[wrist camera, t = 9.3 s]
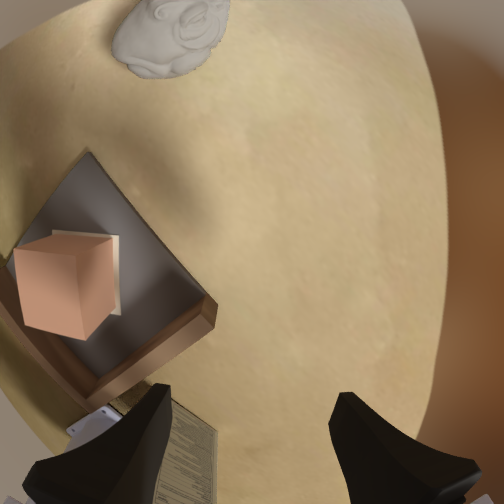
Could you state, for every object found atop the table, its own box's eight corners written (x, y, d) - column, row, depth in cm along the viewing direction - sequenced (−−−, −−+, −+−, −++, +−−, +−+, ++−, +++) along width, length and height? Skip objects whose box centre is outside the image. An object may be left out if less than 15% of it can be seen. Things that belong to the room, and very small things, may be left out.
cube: (115, 307, 19) (85, 340, 14) (61, 298, 19) (25, 325, 14) (112, 238, 18) (75, 255, 13) (55, 233, 17) (13, 248, 13)
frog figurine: (245, 71, 16) (249, 18, 10) (147, 111, 17) (102, 79, 10) (215, 9, 15) (207, -50, 8) (124, 47, 15) (84, 1, 8)
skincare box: (140, 413, 22) (103, 520, 10) (169, 395, 21) (136, 517, 10) (191, 449, 23) (177, 552, 11) (222, 433, 23) (218, 547, 11)
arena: (104, 390, 21) (90, 414, 18) (4, 272, 18) (-20, 284, 15) (218, 304, 20) (214, 328, 16) (90, 152, 17) (64, 147, 14)
